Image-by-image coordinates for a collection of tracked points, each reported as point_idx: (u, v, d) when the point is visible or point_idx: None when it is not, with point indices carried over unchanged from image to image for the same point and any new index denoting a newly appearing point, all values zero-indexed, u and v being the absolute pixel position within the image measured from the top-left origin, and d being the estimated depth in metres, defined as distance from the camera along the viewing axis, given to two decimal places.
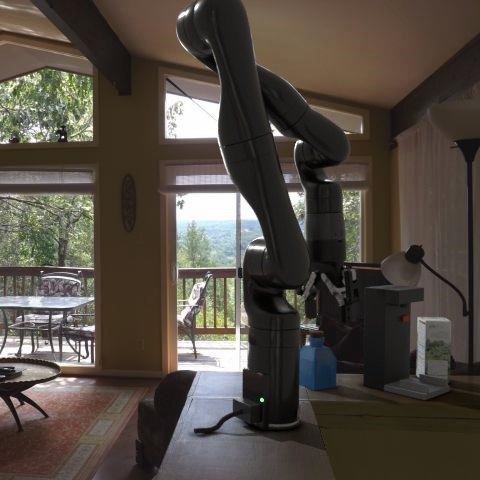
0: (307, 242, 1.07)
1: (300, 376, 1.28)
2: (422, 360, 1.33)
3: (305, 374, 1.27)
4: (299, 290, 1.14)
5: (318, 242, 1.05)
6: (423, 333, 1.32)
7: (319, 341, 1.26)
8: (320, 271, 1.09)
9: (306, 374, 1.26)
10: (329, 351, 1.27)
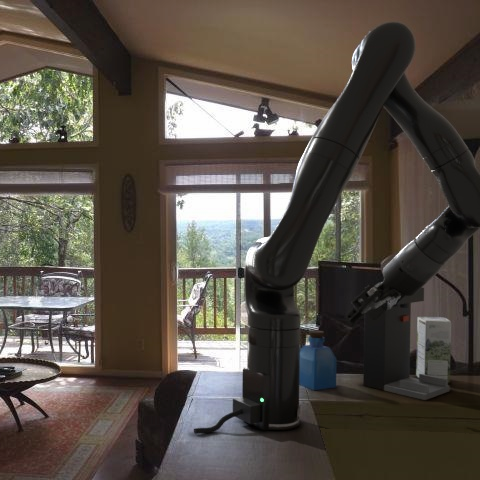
0: None
1: (300, 376, 1.28)
2: (422, 360, 1.33)
3: (305, 374, 1.27)
4: None
5: (394, 257, 1.12)
6: (423, 333, 1.32)
7: (319, 341, 1.26)
8: None
9: (306, 374, 1.26)
10: (329, 351, 1.27)
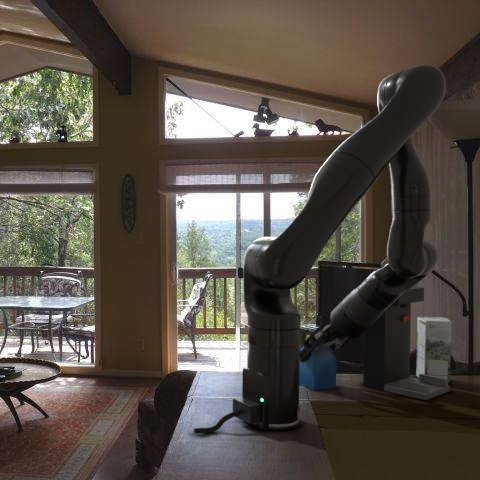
0: None
1: (300, 376, 1.28)
2: (422, 360, 1.33)
3: (305, 374, 1.27)
4: None
5: None
6: (423, 333, 1.32)
7: None
8: None
9: (306, 374, 1.26)
10: (329, 351, 1.27)
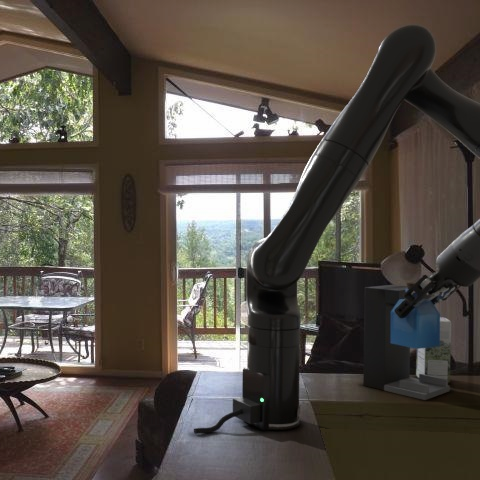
0: None
1: (397, 334, 1.12)
2: (422, 360, 1.33)
3: (403, 331, 1.10)
4: None
5: (449, 245, 1.05)
6: None
7: None
8: None
9: (406, 331, 1.10)
10: (431, 305, 1.10)
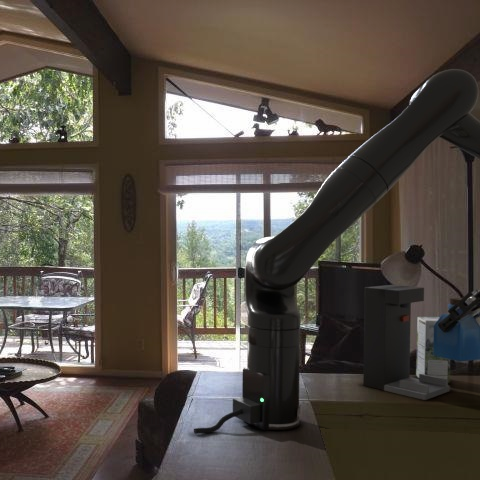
0: None
1: (440, 347, 1.18)
2: (422, 360, 1.33)
3: (447, 345, 1.16)
4: None
5: None
6: (423, 333, 1.32)
7: None
8: None
9: (449, 345, 1.16)
10: (473, 320, 1.16)
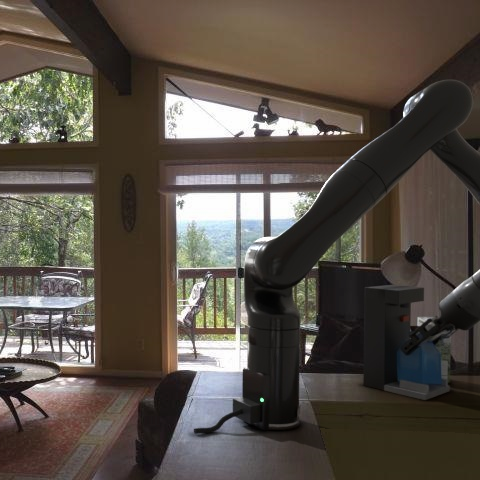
0: None
1: (403, 372, 1.24)
2: None
3: (410, 369, 1.22)
4: None
5: (451, 293, 1.17)
6: None
7: None
8: None
9: (412, 369, 1.22)
10: (433, 345, 1.24)
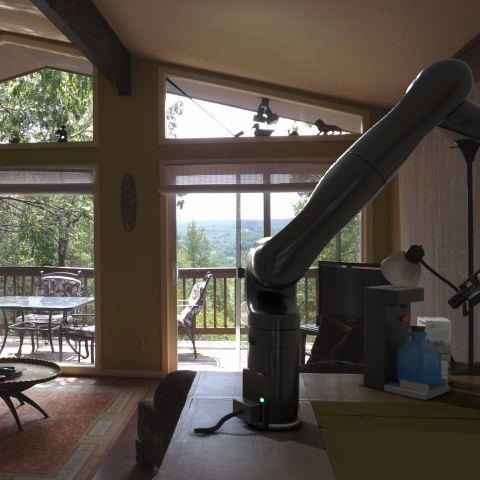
0: None
1: (403, 372, 1.24)
2: None
3: (410, 369, 1.22)
4: None
5: None
6: None
7: (423, 334, 1.24)
8: None
9: (412, 369, 1.22)
10: (433, 346, 1.24)
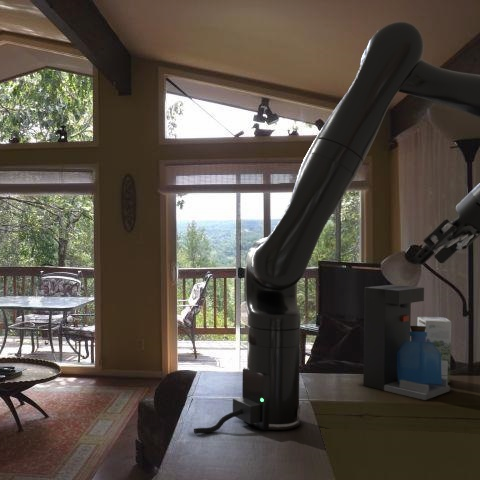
0: None
1: (403, 372, 1.24)
2: None
3: (410, 369, 1.22)
4: None
5: (469, 193, 1.08)
6: None
7: (423, 334, 1.24)
8: None
9: (412, 369, 1.22)
10: (433, 346, 1.24)
